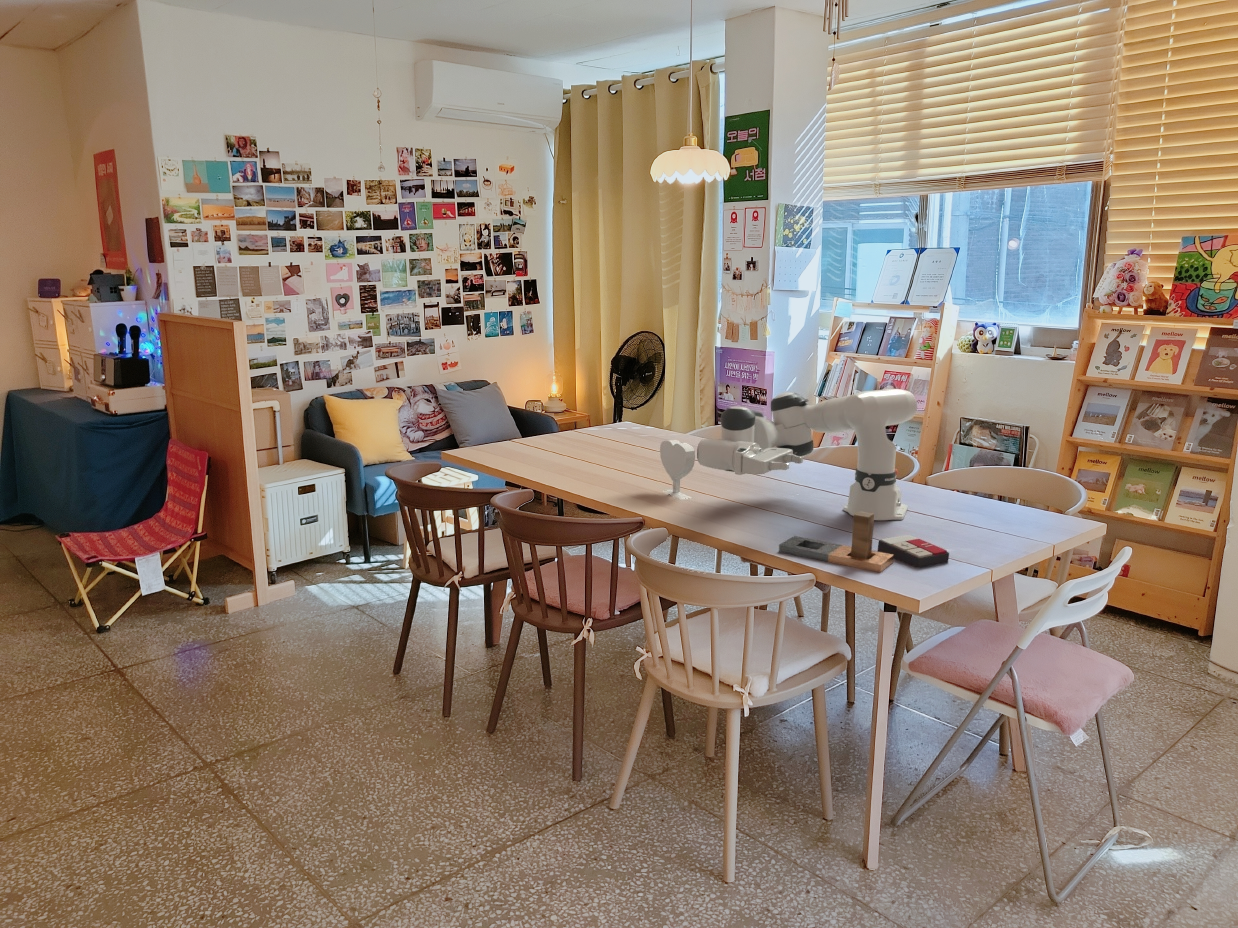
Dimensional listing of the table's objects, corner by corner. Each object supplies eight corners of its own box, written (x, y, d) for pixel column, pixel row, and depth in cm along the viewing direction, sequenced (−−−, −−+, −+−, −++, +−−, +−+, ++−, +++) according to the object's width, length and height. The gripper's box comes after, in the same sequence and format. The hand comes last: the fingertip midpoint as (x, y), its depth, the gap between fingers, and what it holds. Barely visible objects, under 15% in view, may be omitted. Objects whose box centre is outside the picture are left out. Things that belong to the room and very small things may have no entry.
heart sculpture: (695, 498, 298) (697, 445, 294) (683, 500, 296) (684, 446, 292) (669, 488, 311) (670, 437, 307) (657, 490, 309) (658, 438, 305)
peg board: (794, 542, 253) (794, 535, 252) (893, 561, 237) (894, 554, 237) (778, 551, 245) (779, 544, 244) (880, 572, 229) (881, 564, 229)
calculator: (919, 556, 232) (878, 537, 245) (917, 571, 233) (876, 552, 246) (950, 550, 237) (908, 532, 250) (948, 565, 238) (906, 546, 251)
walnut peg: (856, 558, 240) (859, 511, 237) (870, 561, 238) (874, 513, 235) (850, 562, 237) (853, 514, 234) (865, 565, 235) (868, 517, 232)
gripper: (764, 462, 264) (809, 467, 256) (732, 475, 247) (779, 481, 240) (765, 440, 262) (810, 445, 255) (732, 452, 246) (780, 458, 238)
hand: (795, 463), depth 247 cm, fingers open, 8 cm apart
